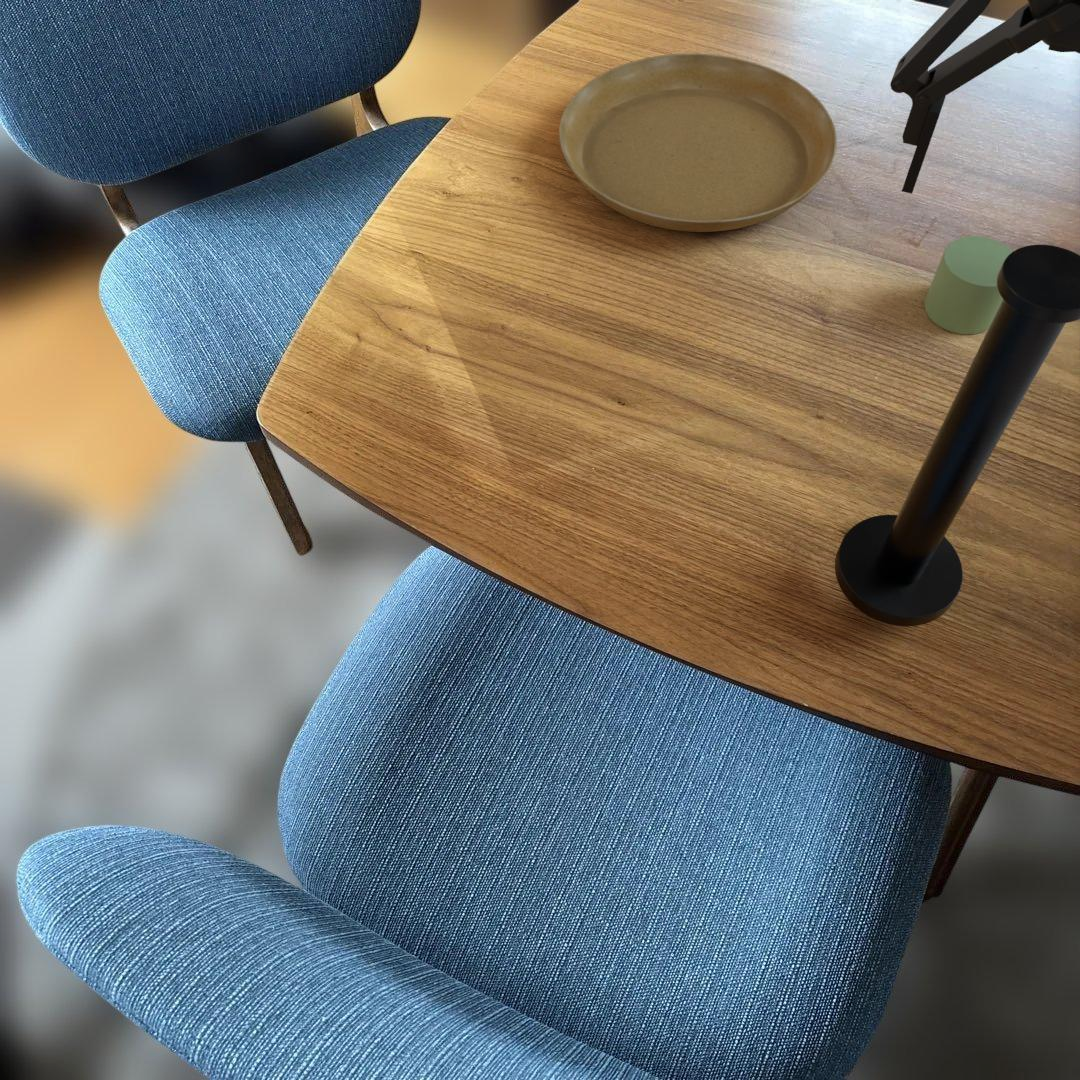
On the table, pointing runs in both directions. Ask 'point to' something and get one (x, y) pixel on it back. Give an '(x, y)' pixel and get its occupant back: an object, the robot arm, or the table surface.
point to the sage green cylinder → (967, 285)
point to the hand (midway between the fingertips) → (1005, 204)
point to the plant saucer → (697, 141)
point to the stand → (961, 448)
